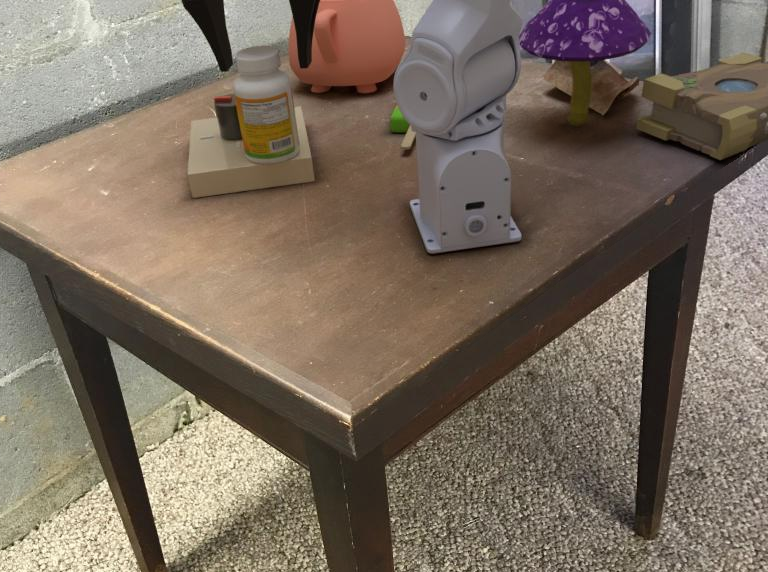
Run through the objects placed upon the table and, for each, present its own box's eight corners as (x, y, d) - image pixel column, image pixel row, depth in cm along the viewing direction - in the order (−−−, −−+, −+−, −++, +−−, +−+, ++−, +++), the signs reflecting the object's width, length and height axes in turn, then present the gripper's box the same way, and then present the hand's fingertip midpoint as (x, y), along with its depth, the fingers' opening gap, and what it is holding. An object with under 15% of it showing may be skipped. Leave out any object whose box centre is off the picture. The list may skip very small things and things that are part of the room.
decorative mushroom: (491, 132, 91) (491, -24, 81) (564, 94, 97) (572, -54, 88) (592, 161, 83) (605, -7, 74) (664, 118, 90) (685, -41, 80)
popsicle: (453, 101, 99) (453, 84, 98) (432, 157, 88) (431, 138, 87) (405, 101, 100) (404, 84, 99) (379, 157, 89) (377, 139, 88)
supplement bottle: (259, 141, 88) (242, 42, 82) (308, 144, 87) (295, 42, 81) (236, 164, 84) (217, 61, 78) (287, 167, 83) (272, 62, 77)
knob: (259, 126, 91) (253, 89, 89) (249, 140, 89) (243, 103, 86) (226, 126, 92) (219, 90, 90) (216, 140, 89) (208, 103, 87)
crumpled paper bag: (638, 76, 89) (660, 97, 95) (556, 17, 94) (582, 42, 100) (601, 123, 91) (625, 141, 97) (523, 64, 96) (551, 84, 102)
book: (732, 92, 93) (743, 44, 90) (825, 124, 86) (841, 73, 83) (635, 128, 87) (643, 78, 84) (727, 166, 80) (739, 113, 77)
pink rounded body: (423, 51, 113) (418, -52, 106) (383, 110, 99) (374, -5, 91) (326, 51, 117) (315, -49, 109) (273, 107, 102) (256, -3, 95)
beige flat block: (315, 181, 86) (311, 155, 84) (192, 198, 85) (186, 172, 83) (304, 128, 97) (301, 104, 95) (196, 143, 96) (190, 119, 94)
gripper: (142, -83, 71) (179, 84, 80) (315, -95, 69) (334, 78, 77) (169, -100, 77) (201, 58, 85) (331, -112, 74) (347, 52, 83)
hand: (266, 66), depth 82 cm, fingers open, 7 cm apart
